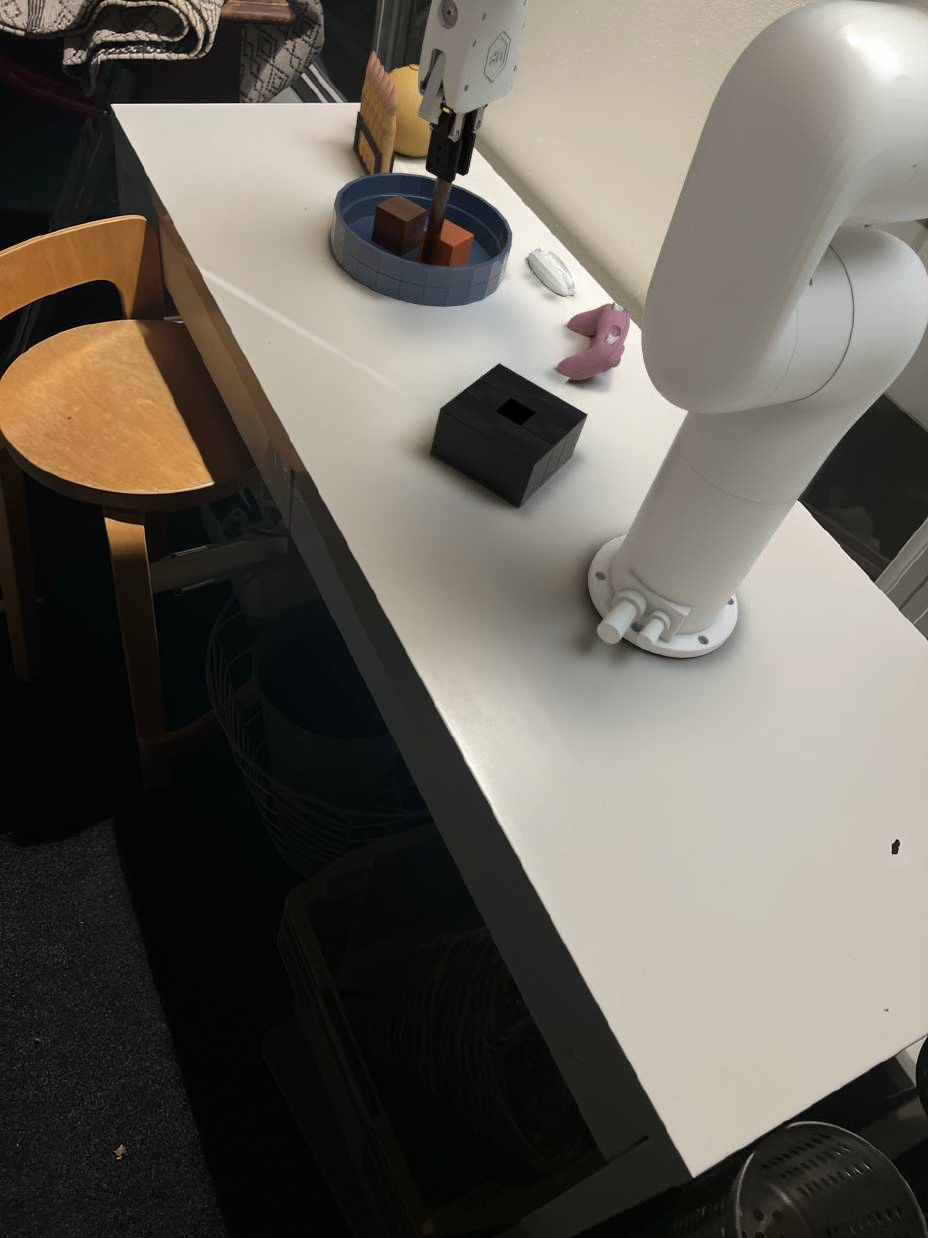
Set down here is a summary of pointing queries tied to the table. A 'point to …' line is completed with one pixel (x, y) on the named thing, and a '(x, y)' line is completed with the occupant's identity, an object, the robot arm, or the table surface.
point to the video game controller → (597, 341)
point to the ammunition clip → (376, 120)
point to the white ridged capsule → (553, 271)
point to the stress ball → (409, 114)
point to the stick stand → (507, 434)
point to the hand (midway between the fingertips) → (446, 171)
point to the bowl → (403, 272)
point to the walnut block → (398, 225)
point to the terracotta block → (451, 246)
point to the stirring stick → (437, 215)
